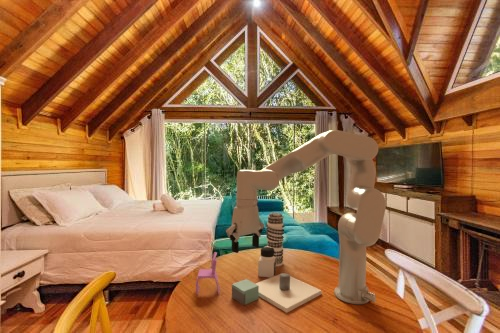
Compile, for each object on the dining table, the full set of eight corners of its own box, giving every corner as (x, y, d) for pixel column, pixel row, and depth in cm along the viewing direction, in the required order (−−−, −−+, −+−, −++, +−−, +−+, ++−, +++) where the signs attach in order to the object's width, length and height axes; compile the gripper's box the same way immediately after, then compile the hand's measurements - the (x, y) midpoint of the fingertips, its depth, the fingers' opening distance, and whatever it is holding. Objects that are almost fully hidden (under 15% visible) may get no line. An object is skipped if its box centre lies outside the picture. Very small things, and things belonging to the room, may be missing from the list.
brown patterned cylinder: (273, 258, 138) (274, 210, 137) (287, 263, 131) (288, 213, 130) (261, 262, 132) (262, 213, 131) (275, 268, 125) (276, 216, 124)
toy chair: (197, 286, 105) (198, 249, 105) (219, 285, 106) (220, 249, 106) (195, 297, 97) (195, 257, 97) (219, 296, 98) (219, 256, 98)
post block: (321, 294, 101) (321, 277, 101) (286, 312, 88) (286, 293, 88) (282, 276, 116) (283, 261, 116) (248, 289, 103) (248, 273, 103)
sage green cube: (258, 299, 97) (258, 285, 96) (243, 305, 92) (243, 291, 92) (246, 291, 102) (246, 278, 102) (231, 297, 97) (232, 284, 97)
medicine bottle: (274, 278, 114) (274, 251, 114) (257, 276, 115) (258, 249, 115) (275, 271, 121) (276, 245, 121) (260, 270, 122) (260, 244, 122)
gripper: (257, 200, 105) (256, 242, 105) (221, 203, 94) (220, 251, 94) (270, 202, 99) (269, 247, 99) (233, 206, 88) (232, 257, 88)
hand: (245, 249), depth 97 cm, fingers open, 9 cm apart
